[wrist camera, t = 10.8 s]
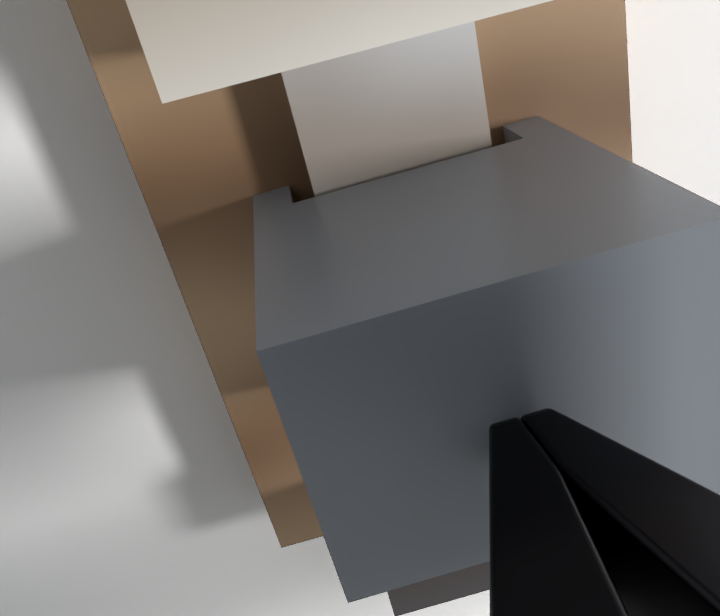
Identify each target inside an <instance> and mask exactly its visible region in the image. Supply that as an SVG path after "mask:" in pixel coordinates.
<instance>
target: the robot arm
mask: <svg viewBox="0 0 720 616" xmlns="http://www.w3.org/2000/svg"><path fill="white" fill-rule="evenodd" d="M489 546H490V616H720V494H718V493H716V492H714V491H712V490H710V489H708V488H706V487H704V486H702V485H700V484H699V483H697V482H695V481H693V480H691V479H689V478H687V477H685V476H683V475H681V474H679V473H677V472H675V471H673V470H671V469H669V468H667V467H665V466H663V465H661V464H659V463H657V462H655V461H654V460H652V459H650V458H648V457H646V456H644V455H642V454H640V453H638V452H636V451H634V450H632V449H630V448H628V447H626V446H624V445H622V444H620V443H618V442H616V441H614V440H612V439H610V438H609V437H607V436H605V435H603V434H601V433H599V432H597V431H595V430H593V429H591V428H589V427H587V426H585V425H583V424H581V423H579V422H577V421H575V420H573V419H571V418H569V417H567V416H565V415H564V414H562V413H560V412H558V411H556V410H554V409H550V408H546V409H542V410H538V411H535V412H531V413H528V414H525V415H523V416H522V417H521V419H519V418H516V417H515V418H510V419H507V420H503V421H500V422H496V423H493V424H491V425H490V427H489Z"/></svg>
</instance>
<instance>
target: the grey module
mask: <svg viewBox="0 0 720 616" xmlns="http://www.w3.org/2000/svg"><path fill="white" fill-rule="evenodd" d="M503 131H504V138H505V144H502V145H498V146H494V147H491V148H487V149H484V150H480V151H477V152H473V153H470V154H466V155H462V156H459V157H455V158H452V159H448V160H445V161H441V162H438V163H434V164H431V165H427V166H423V167H420V168H416V169H413V170H409V171H406V172H402V173H399V174H395V175H391V176H388V177H384V178H381V179H377V180H374V181H370V182H367V183H363V184H359V185H356V186H352V187H349V188H345V189H342V190H338V191H335V192H331V193H327V194H324V195H320V196H317V197H313V198H310V199H306V200H303V201H299V202H295V203H294V200H293V197H292V194H291V190H290V187H289V186H286V187H282V188H279V189H275V190H272V191H268V192H264V193H261V194H257V195H254V196H253V213H254V268H255V322H256V353H257V355H258V358H259V361H260V364H261V366H262V369H263V372H264V375H265V377H266V380H267V383H268V385H269V388H270V391H271V394H272V396H273V399H274V402H275V405H276V407H277V410H278V413H279V415H280V418H281V421H282V424H283V426H284V429H285V432H286V435H287V437H288V440H289V443H290V446H291V448H292V451H293V454H294V456H295V459H296V462H297V465H298V467H299V470H300V473H301V476H302V478H303V481H304V484H305V486H306V489H307V492H308V495H309V497H310V500H311V503H312V506H313V508H314V511H315V514H316V517H317V519H318V522H319V525H320V527H321V530H322V533H323V536H324V538H325V541H326V544H327V547H328V549H329V552H330V555H331V557H332V560H333V563H334V566H335V568H336V571H337V574H338V577H339V579H340V582H341V585H342V587H343V590H344V593H345V596H346V598H347V601H348V603H349V602H352V601H356V600H359V599H363V598H366V597H369V596H373V595H376V594H380V593H383V592H386V591H390V590H393V589H397V588H400V587H403V586H407V585H410V584H414V583H417V582H420V581H424V580H427V579H431V578H434V577H437V576H441V575H444V574H448V573H451V572H454V571H458V570H461V569H464V568H468V567H471V566H475V565H478V564H481V563H485V562H488V561H490V546H489V427H490V425H491V424H493V423H496V422H500V421H503V420H507V419H510V418H515V417H516V418H519V419H521V417H522V416H523V415H525V414H528V413H531V412H535V411H538V410H542V409H546V408H550V409H554V410H556V411H558V412H560V413H562V414H564V415H565V416H567V417H569V418H571V419H573V420H575V421H577V422H579V423H581V424H583V425H585V426H587V427H589V428H591V429H593V430H595V431H597V432H599V433H601V434H603V435H605V436H607V437H609V438H610V439H612V440H614V441H616V442H618V443H620V444H622V445H624V446H626V447H628V448H630V449H632V450H634V451H636V452H638V453H640V454H642V455H644V456H646V457H648V458H650V459H652V460H654V461H655V462H657V463H659V464H661V465H663V466H665V467H667V468H669V469H671V470H673V471H675V472H677V473H679V474H681V475H683V476H685V477H687V478H689V479H691V480H693V481H695V482H697V483H699V484H700V485H702V486H704V487H706V488H708V489H710V490H712V491H714V492H716V493H718V494H719V493H720V206H719V205H717V204H715V203H713V202H711V201H709V200H707V199H705V198H703V197H701V196H699V195H697V194H695V193H693V192H691V191H689V190H687V189H685V188H683V187H681V186H679V185H677V184H675V183H673V182H671V181H669V180H667V179H665V178H663V177H661V176H659V175H657V174H654V173H652V172H650V171H648V170H646V169H644V168H642V167H640V166H638V165H636V164H634V163H632V162H630V161H628V160H626V159H624V158H622V157H620V156H618V155H616V154H614V153H612V152H610V151H608V150H606V149H604V148H602V147H600V146H598V145H596V144H594V143H592V142H590V141H588V140H586V139H584V138H582V137H580V136H578V135H576V134H574V133H572V132H570V131H568V130H566V129H564V128H562V127H560V126H558V125H556V124H554V123H552V122H550V121H548V120H546V119H544V118H542V117H540V116H535V117H531V118H528V119H524V120H521V121H517V122H514V123H510V124H507V125H503Z"/></svg>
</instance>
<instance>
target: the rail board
mask: <svg viewBox="0 0 720 616" xmlns="http://www.w3.org/2000/svg"><path fill="white" fill-rule="evenodd" d="M66 1H67V3H68V6H69V8H70V11H71V13H72V16H73V19H74V21H75V24H76V26H77V29H78V31H79V34H80V36H81V39H82V41H83V44H84V47H85V49H86V52H87V54H88V57H89V59H90V62H91V64H92V67H93V69H94V72H95V74H96V77H97V80H98V82H99V85H100V87H101V90H102V92H103V95H104V97H105V100H106V102H107V105H108V108H109V110H110V113H111V115H112V118H113V120H114V123H115V125H116V128H117V130H118V133H119V136H120V138H121V141H122V143H123V146H124V148H125V151H126V153H127V156H128V158H129V161H130V163H131V166H132V169H133V171H134V174H135V176H136V179H137V181H138V184H139V186H140V189H141V191H142V194H143V197H144V199H145V202H146V204H147V207H148V209H149V212H150V214H151V217H152V219H153V222H154V225H155V227H156V230H157V232H158V235H159V237H160V240H161V242H162V245H163V247H164V250H165V253H166V255H167V258H168V260H169V263H170V265H171V268H172V270H173V273H174V275H175V278H176V280H177V283H178V286H179V288H180V291H181V293H182V296H183V298H184V301H185V303H186V306H187V308H188V311H189V314H190V316H191V319H192V321H193V324H194V326H195V329H196V331H197V334H198V336H199V339H200V342H201V344H202V347H203V349H204V352H205V354H206V357H207V359H208V362H209V364H210V367H211V369H212V372H213V375H214V377H215V380H216V382H217V385H218V387H219V390H220V392H221V395H222V397H223V400H224V403H225V405H226V408H227V410H228V413H229V415H230V418H231V420H232V423H233V425H234V428H235V431H236V433H237V436H238V438H239V441H240V443H241V446H242V448H243V451H244V453H245V456H246V458H247V461H248V464H249V466H250V469H251V471H252V474H253V476H254V479H255V481H256V484H257V486H258V489H259V492H260V494H261V497H262V499H263V502H264V504H265V507H266V509H267V512H268V514H269V517H270V520H271V522H272V525H273V527H274V530H275V532H276V535H277V537H278V540H279V542H280V545H281V547H286V546H289V545H293V544H296V543H300V542H303V541H307V540H310V539H314V538H317V537H321V536H323V533H322V530H321V527H320V525H319V522H318V519H317V517H316V514H315V511H314V508H313V506H312V503H311V500H310V497H309V495H308V492H307V489H306V486H305V484H304V481H303V478H302V476H301V473H300V470H299V467H298V465H297V462H296V459H295V456H294V454H293V451H292V448H291V446H290V443H289V440H288V437H287V435H286V432H285V429H284V426H283V424H282V421H281V418H280V415H279V413H278V410H277V407H276V405H275V402H274V399H273V396H272V394H271V391H270V388H269V385H268V383H267V380H266V377H265V375H264V372H263V369H262V366H261V364H260V361H259V358H258V355H257V353H256V322H255V268H254V213H253V196H254V195H257V194H261V193H264V192H268V191H272V190H275V189H279V188H282V187H286V186H289V187H290V190H291V194H292V197H293V200H294V203H295V202H299V201H303V200H306V199H310V198H313V197H317V196H320V195H324V194H327V193H331V192H335V191H338V190H342V189H345V188H349V187H352V186H356V185H359V184H363V183H367V182H370V181H374V180H377V179H381V178H384V177H388V176H391V175H395V174H399V173H402V172H406V171H409V170H413V169H416V168H420V167H423V166H427V165H431V164H434V163H438V162H441V161H445V160H448V159H452V158H455V157H459V156H462V155H466V154H470V153H473V152H477V151H480V150H484V149H487V148H491V147H494V146H498V145H502V144H505V138H504V131H503V125H507V124H510V123H514V122H517V121H521V120H524V119H528V118H531V117H535V116H540V117H542V118H544V119H546V120H548V121H550V122H552V123H554V124H556V125H558V126H560V127H562V128H564V129H566V130H568V131H570V132H572V133H574V134H576V135H578V136H580V137H582V138H584V139H586V140H588V141H590V142H592V143H594V144H596V145H598V146H600V147H602V148H604V149H606V150H608V151H610V152H612V153H614V154H616V155H618V156H620V157H622V158H624V159H626V160H628V161H630V162H632V143H631V121H630V99H629V77H628V55H627V34H626V12H625V0H66ZM489 589H490V561H488V562H485V563H481V564H478V565H475V566H471V567H468V568H464V569H461V570H458V571H454V572H451V573H448V574H444V575H441V576H437V577H434V578H431V579H427V580H424V581H420V582H417V583H414V584H410V585H407V586H403V587H400V588H397V589H393V590H390V591H387V592H388V595H389V599H390V602H391V605H392V608H393V612H394V615H395V616H399V615H402V614H406V613H409V612H413V611H416V610H420V609H423V608H427V607H430V606H434V605H437V604H441V603H444V602H448V601H451V600H454V599H458V598H461V597H465V596H468V595H472V594H475V593H479V592H482V591H486V590H489Z"/></svg>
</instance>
